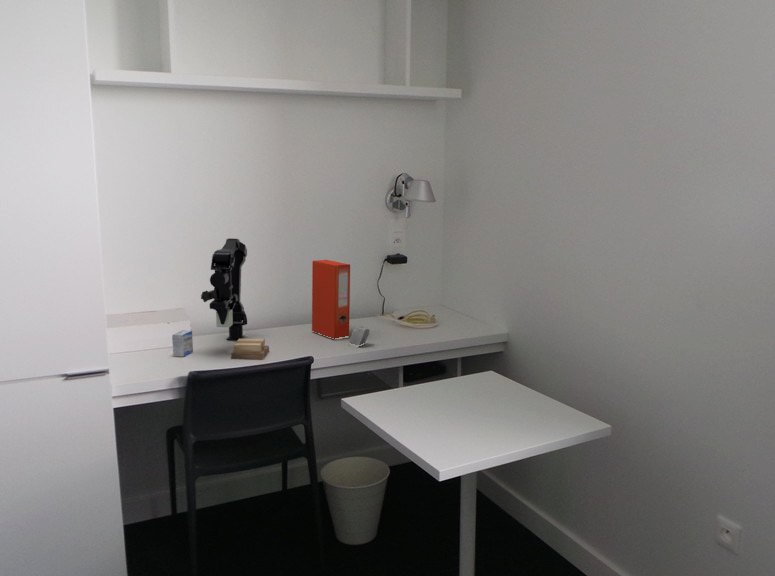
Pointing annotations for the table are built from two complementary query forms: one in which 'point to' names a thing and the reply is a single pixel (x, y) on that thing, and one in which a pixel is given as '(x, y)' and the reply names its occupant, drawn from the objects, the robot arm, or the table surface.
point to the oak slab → (249, 345)
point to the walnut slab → (251, 355)
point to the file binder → (330, 298)
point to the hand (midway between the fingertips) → (224, 322)
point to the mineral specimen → (359, 335)
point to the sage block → (227, 322)
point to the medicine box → (182, 343)
